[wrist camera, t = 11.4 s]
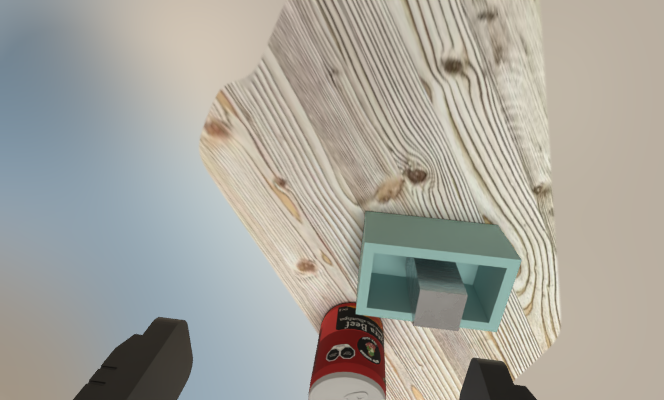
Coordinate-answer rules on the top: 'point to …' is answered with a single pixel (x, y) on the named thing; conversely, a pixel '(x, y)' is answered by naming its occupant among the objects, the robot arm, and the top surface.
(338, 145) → the top surface
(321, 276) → the top surface
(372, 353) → the canned food
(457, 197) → the top surface
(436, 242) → the box
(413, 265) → the grey upright brick
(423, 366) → the top surface
